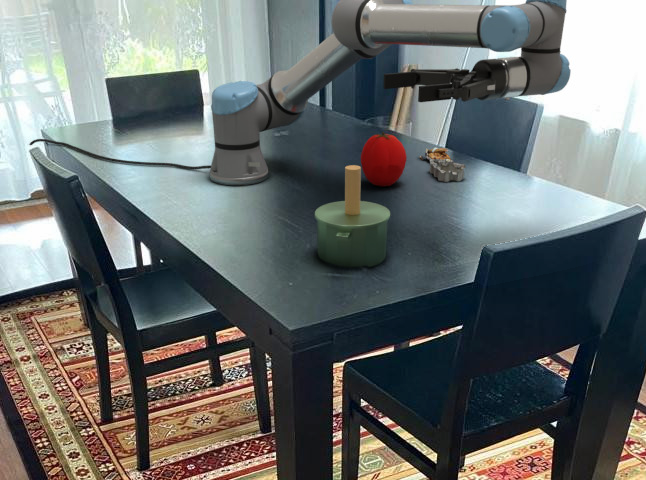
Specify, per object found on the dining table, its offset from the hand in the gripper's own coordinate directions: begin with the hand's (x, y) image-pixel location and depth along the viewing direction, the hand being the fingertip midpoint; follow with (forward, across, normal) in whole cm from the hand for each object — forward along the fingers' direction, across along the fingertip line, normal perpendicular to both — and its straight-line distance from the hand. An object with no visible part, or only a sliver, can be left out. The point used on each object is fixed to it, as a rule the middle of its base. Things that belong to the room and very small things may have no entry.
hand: (401, 87), depth 142 cm
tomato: (-18, +40, -32) cm, 54 cm away
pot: (+10, 0, -32) cm, 33 cm away
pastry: (-42, +52, -32) cm, 74 cm away
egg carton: (-36, +39, -32) cm, 62 cm away
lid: (+10, 0, -24) cm, 25 cm away
